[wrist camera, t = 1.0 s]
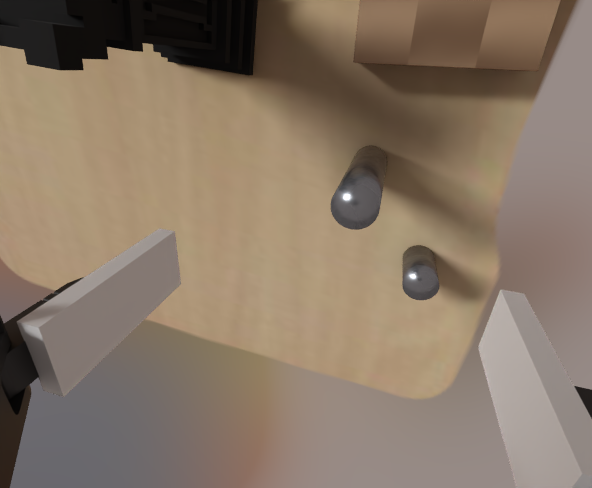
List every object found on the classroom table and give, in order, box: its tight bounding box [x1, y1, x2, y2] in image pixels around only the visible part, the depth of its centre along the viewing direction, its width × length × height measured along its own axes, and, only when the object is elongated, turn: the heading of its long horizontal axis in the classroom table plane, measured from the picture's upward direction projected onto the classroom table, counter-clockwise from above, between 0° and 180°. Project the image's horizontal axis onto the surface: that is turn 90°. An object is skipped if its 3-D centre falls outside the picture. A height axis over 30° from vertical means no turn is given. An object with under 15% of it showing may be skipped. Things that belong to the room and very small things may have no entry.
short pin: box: [403, 245, 439, 300], centre depth 33 cm, size 3×3×5 cm
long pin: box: [331, 146, 387, 229], centre depth 27 cm, size 3×3×12 cm
